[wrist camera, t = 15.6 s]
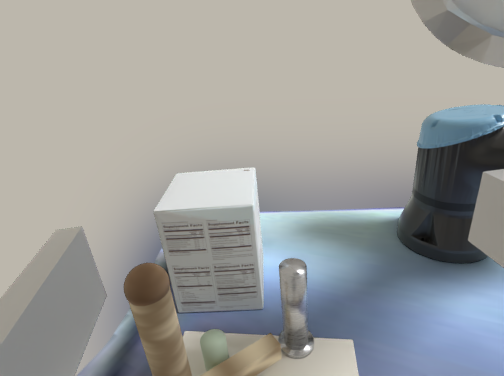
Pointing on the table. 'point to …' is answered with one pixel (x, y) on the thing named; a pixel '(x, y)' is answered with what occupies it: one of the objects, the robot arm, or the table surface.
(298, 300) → the hinge post
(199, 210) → the supplement box
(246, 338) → the board
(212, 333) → the post
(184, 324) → the table surface
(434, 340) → the table surface
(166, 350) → the gate
